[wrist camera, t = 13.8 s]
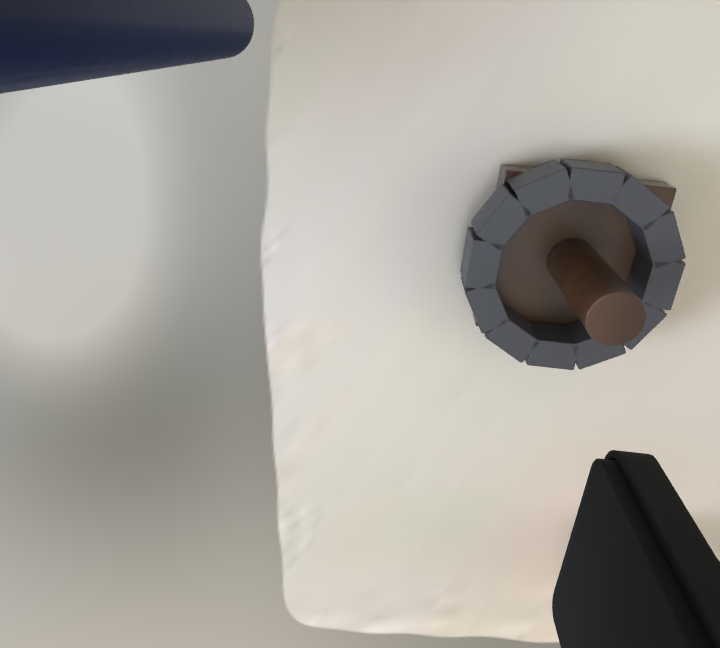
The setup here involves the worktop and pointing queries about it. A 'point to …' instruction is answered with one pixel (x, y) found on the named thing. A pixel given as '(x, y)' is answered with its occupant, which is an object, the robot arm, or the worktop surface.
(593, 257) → the peg stand
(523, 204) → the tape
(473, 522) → the worktop surface
